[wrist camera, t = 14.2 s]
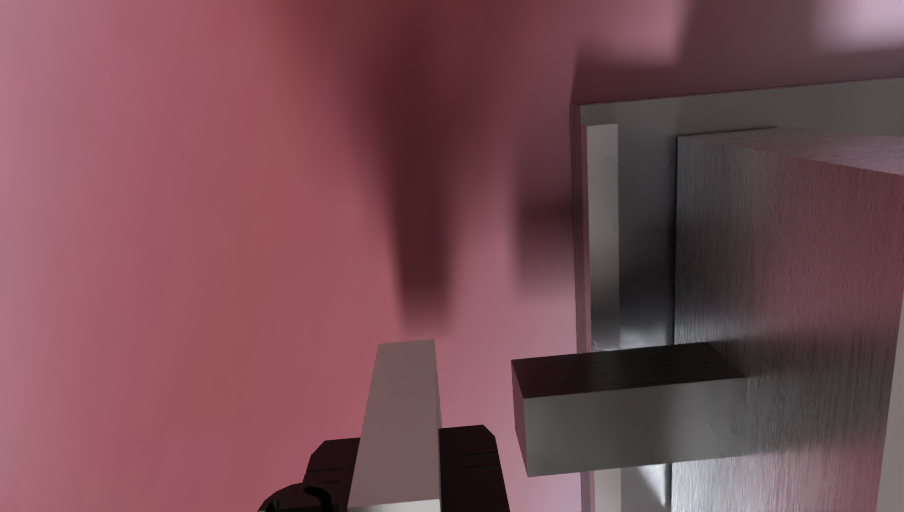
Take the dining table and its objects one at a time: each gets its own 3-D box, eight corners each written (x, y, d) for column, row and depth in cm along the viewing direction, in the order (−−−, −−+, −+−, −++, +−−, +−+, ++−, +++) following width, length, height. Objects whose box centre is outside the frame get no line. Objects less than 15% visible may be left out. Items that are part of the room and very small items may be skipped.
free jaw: (490, 153, 16) (551, 210, 8) (789, 127, 16) (1134, 158, 8) (514, 535, 19) (575, 840, 11) (764, 510, 19) (994, 794, 11)
